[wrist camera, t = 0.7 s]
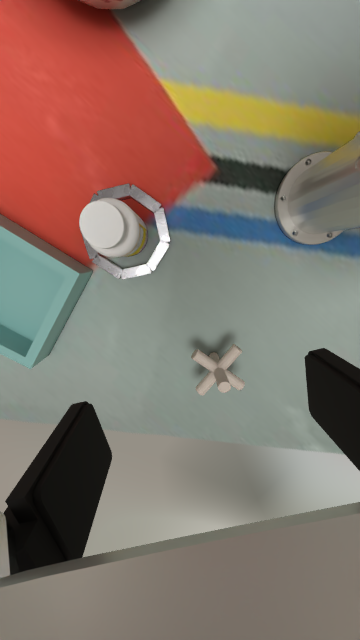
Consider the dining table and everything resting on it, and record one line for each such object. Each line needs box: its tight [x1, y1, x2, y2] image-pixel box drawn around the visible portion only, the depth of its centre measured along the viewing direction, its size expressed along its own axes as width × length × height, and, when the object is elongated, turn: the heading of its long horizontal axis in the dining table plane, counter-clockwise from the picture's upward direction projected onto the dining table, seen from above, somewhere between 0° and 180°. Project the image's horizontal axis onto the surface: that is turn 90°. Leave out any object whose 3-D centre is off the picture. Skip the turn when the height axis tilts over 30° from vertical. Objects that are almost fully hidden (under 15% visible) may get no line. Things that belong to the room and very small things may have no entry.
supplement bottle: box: [79, 198, 148, 257], centre depth 29 cm, size 7×7×13 cm
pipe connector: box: [191, 344, 245, 395], centre depth 37 cm, size 10×10×10 cm
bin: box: [0, 214, 93, 369], centre depth 35 cm, size 18×18×6 cm
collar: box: [81, 184, 171, 279], centre depth 35 cm, size 13×13×2 cm
